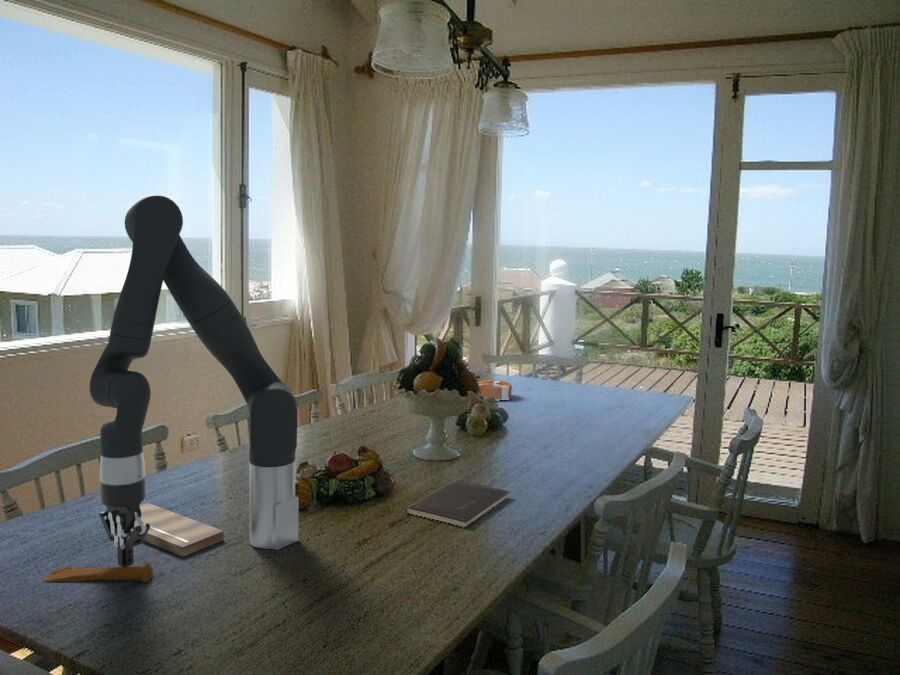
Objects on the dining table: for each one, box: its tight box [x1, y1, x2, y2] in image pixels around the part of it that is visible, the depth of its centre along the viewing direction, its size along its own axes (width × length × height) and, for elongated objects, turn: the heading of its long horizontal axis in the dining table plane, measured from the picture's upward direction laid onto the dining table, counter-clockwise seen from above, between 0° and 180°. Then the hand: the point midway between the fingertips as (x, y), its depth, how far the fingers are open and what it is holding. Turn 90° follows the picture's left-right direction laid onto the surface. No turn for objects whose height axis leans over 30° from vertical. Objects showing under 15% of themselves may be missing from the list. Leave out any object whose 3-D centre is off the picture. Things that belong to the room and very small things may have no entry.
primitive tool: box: [41, 562, 154, 583], centre depth 132 cm, size 19×6×4 cm, turn 92°
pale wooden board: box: [140, 502, 225, 558], centre depth 152 cm, size 26×10×2 cm, turn 57°
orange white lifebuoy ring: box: [478, 377, 513, 399], centre depth 293 cm, size 7×15×15 cm
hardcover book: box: [405, 479, 510, 528], centre depth 174 cm, size 16×23×2 cm
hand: (125, 565), depth 135 cm, fingers closed
